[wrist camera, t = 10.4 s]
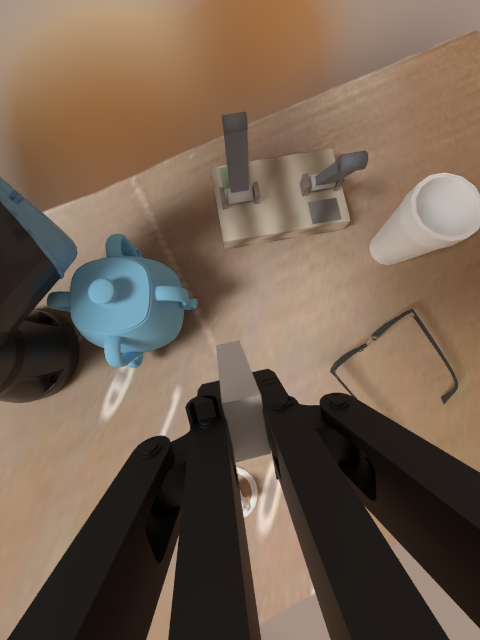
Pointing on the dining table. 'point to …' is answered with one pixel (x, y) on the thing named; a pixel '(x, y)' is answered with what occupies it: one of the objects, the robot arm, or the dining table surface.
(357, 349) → the sunglasses
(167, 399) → the dining table surface
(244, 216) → the switch base
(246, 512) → the teacup and saucer
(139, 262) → the decorative pot
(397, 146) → the dining table surface
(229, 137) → the lever
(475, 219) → the foam cup
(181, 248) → the dining table surface
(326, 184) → the lever
